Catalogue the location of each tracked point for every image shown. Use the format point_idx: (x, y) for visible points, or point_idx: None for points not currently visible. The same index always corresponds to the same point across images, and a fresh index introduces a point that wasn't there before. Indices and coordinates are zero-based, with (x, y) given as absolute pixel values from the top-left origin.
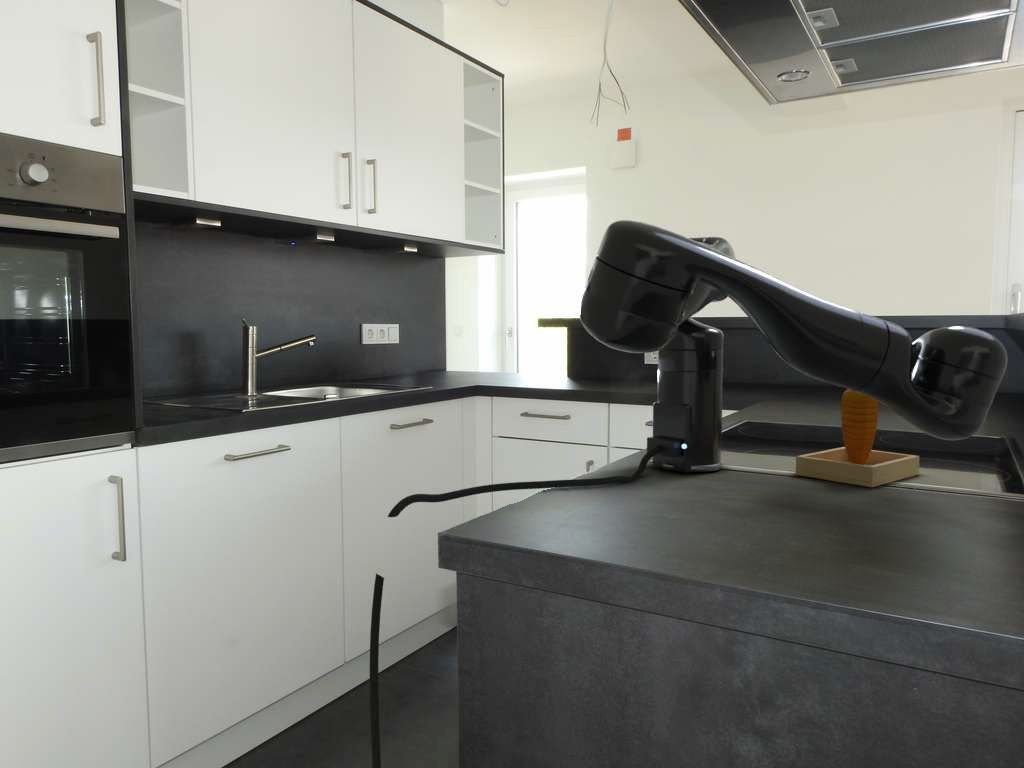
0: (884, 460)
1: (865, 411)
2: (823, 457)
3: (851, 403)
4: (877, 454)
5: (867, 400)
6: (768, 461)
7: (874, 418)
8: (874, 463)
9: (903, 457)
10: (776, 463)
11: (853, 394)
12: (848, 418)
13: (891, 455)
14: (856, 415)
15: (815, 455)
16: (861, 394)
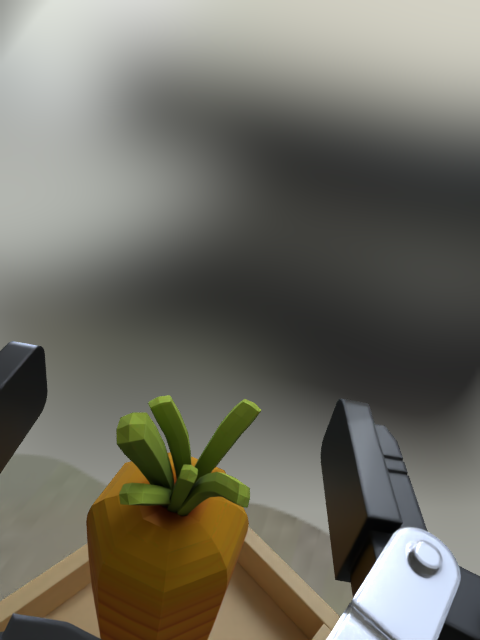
0: (260, 575)
1: (151, 633)
2: (77, 578)
3: (97, 588)
4: (248, 550)
5: (159, 613)
6: (10, 472)
7: (197, 633)
8: (238, 561)
9: (304, 609)
10: (12, 496)
11: (108, 559)
12: (96, 606)
13: (277, 580)
14: (116, 628)
15: (26, 607)
16: (140, 576)
